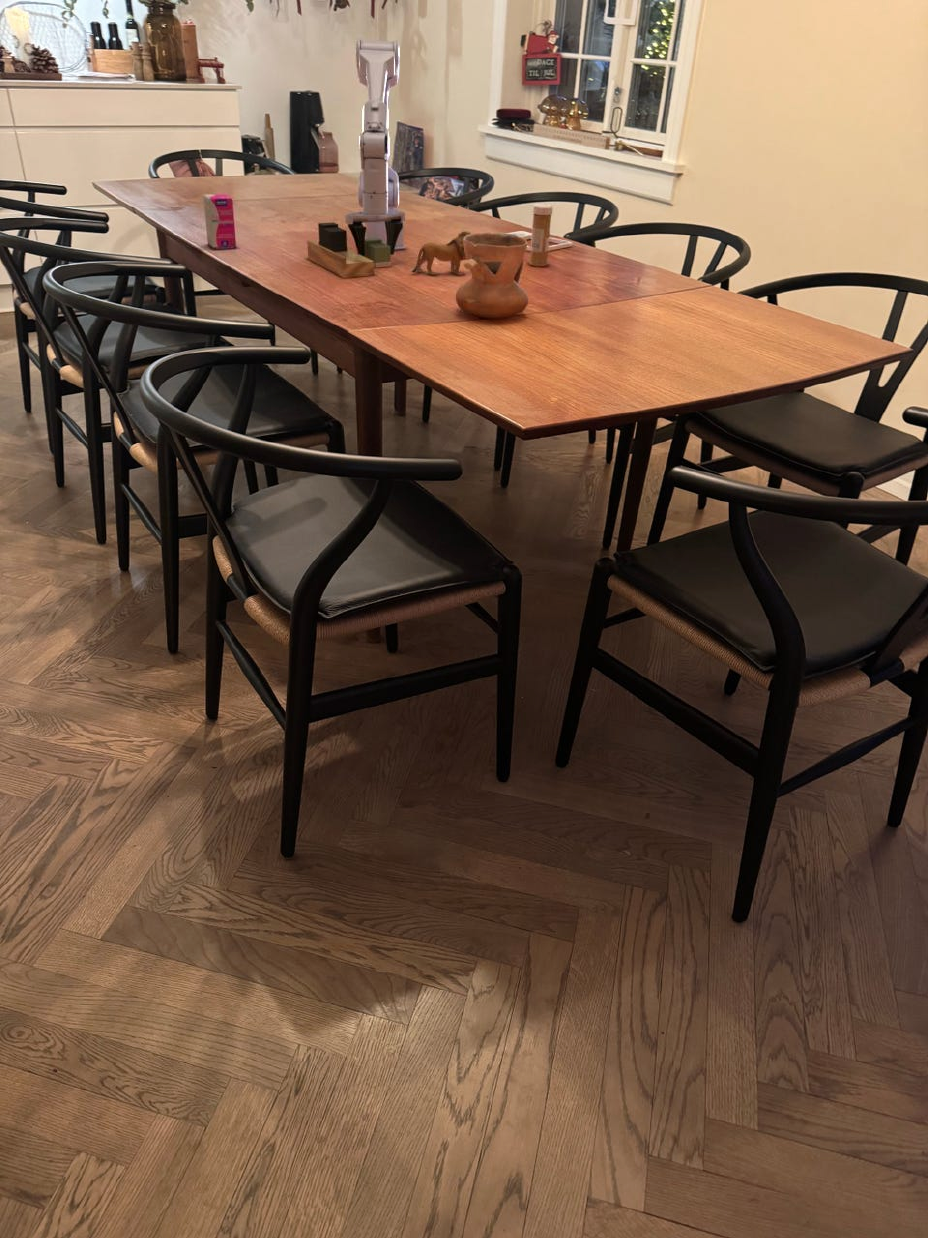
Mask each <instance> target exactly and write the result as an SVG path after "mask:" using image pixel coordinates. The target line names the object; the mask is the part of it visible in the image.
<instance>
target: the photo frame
mask: <svg viewBox="0 0 928 1238" xmlns="http://www.w3.org/2000/svg"><path fill="white" fill-rule="evenodd" d="M505 234H513V235H517V236H519V237H523V238H524V239H526V240H531V236H532V232H528V231H524V230H519V231H512V232H507V233H505ZM549 243H554V244H552V245H549V250H548V252H551V251H556V250H560V249H564V248H569V247H573V246H574V242H572V241H569V240H565V239H560V238H555V237H552V236H551V237H550V238H549ZM526 251H527V252H531V246H529V245H527V247H526Z"/></svg>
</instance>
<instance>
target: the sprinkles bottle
mask: <svg viewBox="0 0 928 1238" xmlns="http://www.w3.org/2000/svg"><path fill="white" fill-rule="evenodd" d="M553 207H554V206H553V205H551V204H547V203H535V204H534V205H533V206H532V215H533V216H532V217H533V218H532V227H531V233H532V236H531V239H530V247H531V251H530V255H529V265H530V266H532V267H547V266H548V264H549V263H548V259H549V258H548V257H549V251H548V250H549V246H550V241H549V238H550V236H551V223H552V220H551V219H552V215H553Z"/></svg>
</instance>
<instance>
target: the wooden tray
mask: <svg viewBox="0 0 928 1238" xmlns="http://www.w3.org/2000/svg"><path fill="white" fill-rule="evenodd" d="M306 242H307V259H308V260H310V261H312V262H314V263H315V264H317V265H319V266H321V267H322V268H325V270H328V271H330V272H332V273H334V274H336V275H338V276H339V277H341V278H344V279H349V278H358V277H369V276H375V267H374V261H372V260H370V259H368V258H366V257H364V256H362V255H360V254H358V252H355V251H353V250H351V249H349V248H347V250H348V251H343V252H333V251H331V250H329V249H327V248H325V247H323V246H321V245H319V243H317V242H314V241H313V240H311V239H307V241H306Z"/></svg>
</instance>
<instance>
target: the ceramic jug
mask: <svg viewBox="0 0 928 1238" xmlns="http://www.w3.org/2000/svg"><path fill="white" fill-rule="evenodd" d="M463 246H464V252H465V256H466V260H465V262H464V263H463V267H464V268H465V269H466V270H469V271H470V275H471V278H470V279H468V280H467V281H465V282H464V283H462V284H461V285H460V286H459V287H458V288H457V290H456V292H455V302H456V304H457V306H458V307H459V309H461V311H463V312H464V313H467V314H468V315H471V316H473V317H477V318H482V319H506V318H510V317H513V316H516V315H518V314H520V313H521V312H523V311H524V310H525V309H526V308H527V306H528V304H529V295H528V293H527V291H526V290H525V289H524V287H522V286H521V285H519V281H520V279H521V275H522V271H523V267H524V257H525V254H526V251H527V250H526V247H527V246H528V241H527V239H524V238H523V237H519V236H517V235H513V234H506V233H503V232H475V233H471V234H470V235H467V236H465V237H464V238H463Z"/></svg>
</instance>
